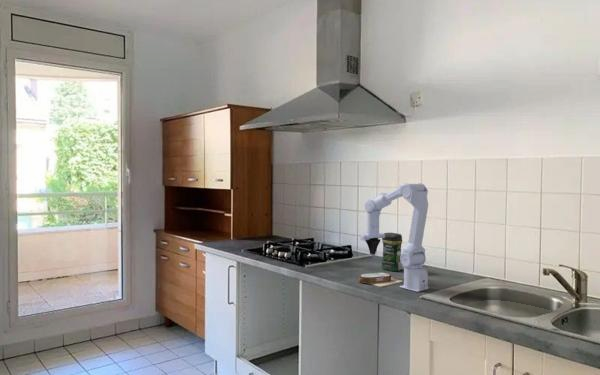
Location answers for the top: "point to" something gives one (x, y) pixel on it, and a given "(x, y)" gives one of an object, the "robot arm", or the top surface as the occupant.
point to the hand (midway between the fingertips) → (372, 254)
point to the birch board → (386, 283)
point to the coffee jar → (392, 252)
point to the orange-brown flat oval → (374, 277)
